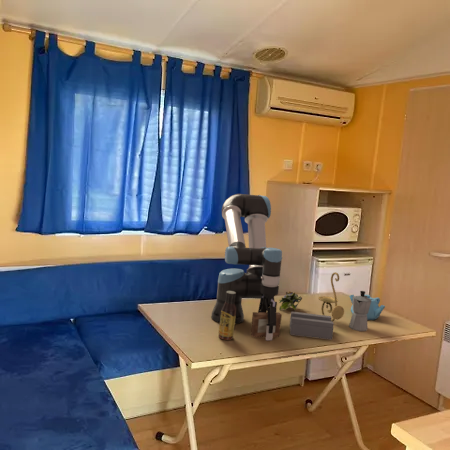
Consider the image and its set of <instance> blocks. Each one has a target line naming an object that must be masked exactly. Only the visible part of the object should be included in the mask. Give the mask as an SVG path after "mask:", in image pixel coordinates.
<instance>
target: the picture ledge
mask: <svg viewBox="0 0 450 450" xmlns="http://www.w3.org/2000/svg"><path fill="white" fill-rule="evenodd" d="M332 319H333V317H332V315H325V314H324V315H322V314H315V313H307V312H298V311H295V312H294V311H291V312H290V319H289V335H291V336H298V337H299V336H300V337H305V336H306V337H307V338H313V337H314V338H313V339H315V338H316V339H323V340H329V341H333V336H334V335H333V333H334V324H335V323H334V321H333V322H332V321H331V320H332ZM306 337H305V338H306Z"/></svg>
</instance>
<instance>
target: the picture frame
mask: <svg viewBox="0 0 450 450" xmlns="http://www.w3.org/2000/svg"><path fill="white" fill-rule="evenodd" d="M281 321H282V314H281V313H280V311H279V312H277V311H276V326H274V328H273V338H280V333H281V325H282V322H281ZM266 324H268V316H267V312H258V311H257V312H255V311H254V312H252V315H251V324H250V325H251V327H250V336H251V337H252V338H266V330H267V325H266Z"/></svg>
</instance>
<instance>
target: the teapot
mask: <svg viewBox="0 0 450 450" xmlns="http://www.w3.org/2000/svg"><path fill="white" fill-rule="evenodd" d="M354 296H355V295H354V294H350V295H349V299H350V301H351V304H352V305H351V307H350V312H351V315H352V314H353V312H354V311H353V297H354ZM365 296H367V298H370V299H371V304H370V308H369V311H368V314H367V321H375V320H377V319H378V318H380V316H381V314H382V312H383V310H384V309H385V307H386V306H385V305H384V304H381V305H380V302H381V299H380V297H371V295H370V294H365ZM379 305H380V306H379Z"/></svg>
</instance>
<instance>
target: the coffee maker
mask: <svg viewBox="0 0 450 450" xmlns="http://www.w3.org/2000/svg"><path fill="white" fill-rule="evenodd" d="M365 295H366V291H365V290H360V295H354V297H353V304H352V305H353V311H354V312H353V314H352V313H351V318H350V321H349V325H348V328H350V329H351V330H353V331H357V332H367V331H368V328H369V327H368V320H367V314H368V311H369V308H370V304H371V299H370V298H367V296H365Z"/></svg>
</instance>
